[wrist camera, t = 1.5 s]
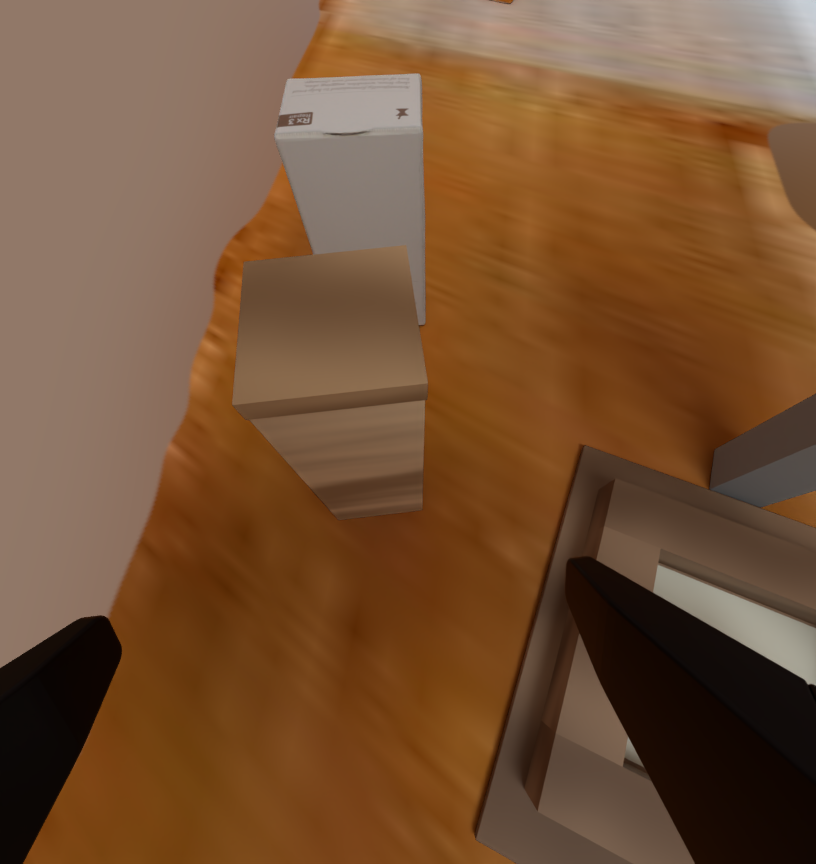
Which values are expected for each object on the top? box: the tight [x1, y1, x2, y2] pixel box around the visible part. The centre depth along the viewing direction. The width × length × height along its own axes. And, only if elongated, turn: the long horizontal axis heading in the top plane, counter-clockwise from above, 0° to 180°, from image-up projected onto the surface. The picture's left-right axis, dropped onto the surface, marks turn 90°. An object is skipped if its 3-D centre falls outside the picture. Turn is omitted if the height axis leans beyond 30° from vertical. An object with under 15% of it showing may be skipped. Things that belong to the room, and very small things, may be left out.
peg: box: [232, 245, 428, 520], centre depth 16 cm, size 5×5×13 cm
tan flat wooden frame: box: [475, 445, 816, 864], centre depth 16 cm, size 18×16×2 cm
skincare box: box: [274, 74, 426, 325], centre depth 22 cm, size 6×4×12 cm
